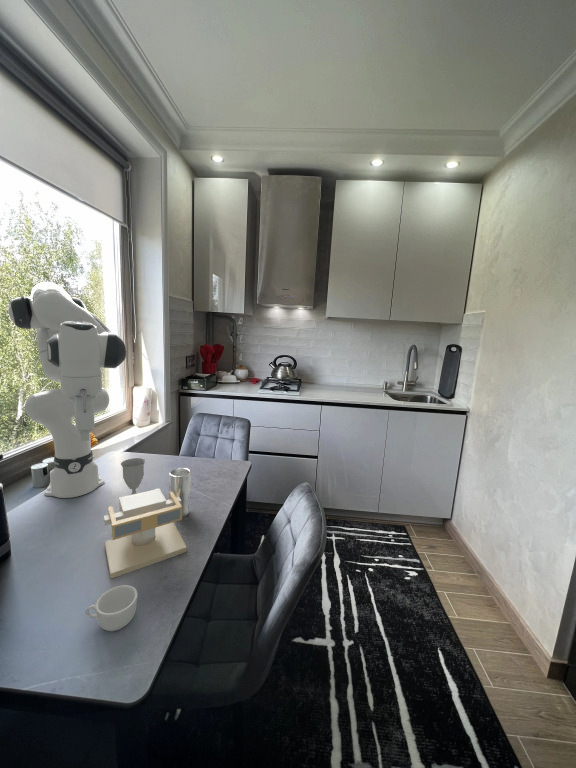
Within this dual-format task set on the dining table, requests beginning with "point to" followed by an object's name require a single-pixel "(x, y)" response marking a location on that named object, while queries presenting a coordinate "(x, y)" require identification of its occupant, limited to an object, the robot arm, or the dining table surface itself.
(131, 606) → the teacup
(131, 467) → the chalice
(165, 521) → the tan open angular frame
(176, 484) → the beer glass
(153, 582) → the dining table surface
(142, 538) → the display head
